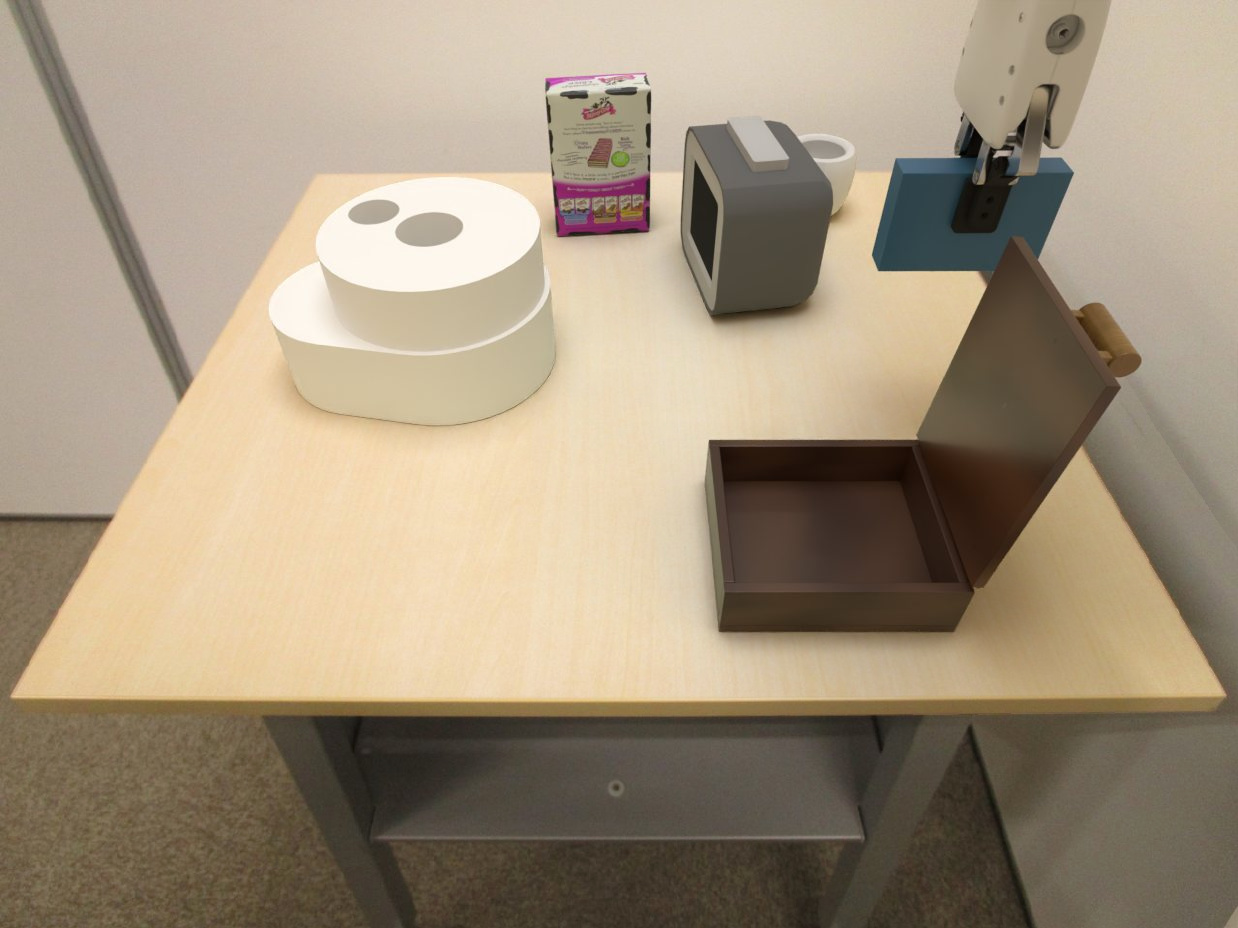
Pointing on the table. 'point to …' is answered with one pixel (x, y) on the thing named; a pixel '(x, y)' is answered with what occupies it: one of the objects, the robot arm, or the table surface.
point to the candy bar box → (600, 152)
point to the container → (421, 305)
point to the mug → (833, 162)
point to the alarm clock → (752, 215)
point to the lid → (1017, 405)
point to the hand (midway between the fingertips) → (966, 218)
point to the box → (830, 538)
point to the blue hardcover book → (927, 208)
